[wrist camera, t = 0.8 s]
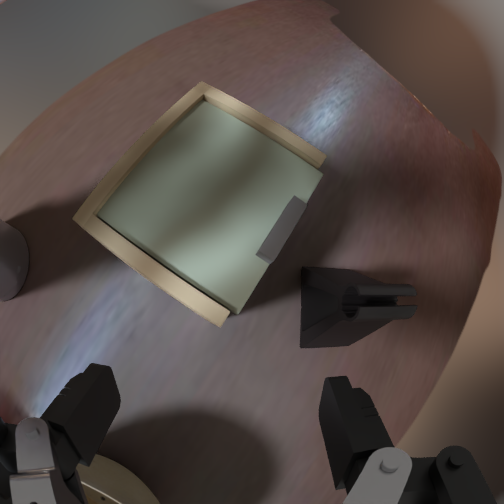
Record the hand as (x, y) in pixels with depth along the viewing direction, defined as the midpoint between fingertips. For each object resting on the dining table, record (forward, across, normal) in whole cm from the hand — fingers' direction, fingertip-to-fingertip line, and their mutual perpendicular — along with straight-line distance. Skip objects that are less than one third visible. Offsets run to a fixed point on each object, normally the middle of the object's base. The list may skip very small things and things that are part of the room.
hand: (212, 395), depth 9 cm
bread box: (+22, +4, -3) cm, 23 cm away
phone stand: (+21, -10, +6) cm, 24 cm away
